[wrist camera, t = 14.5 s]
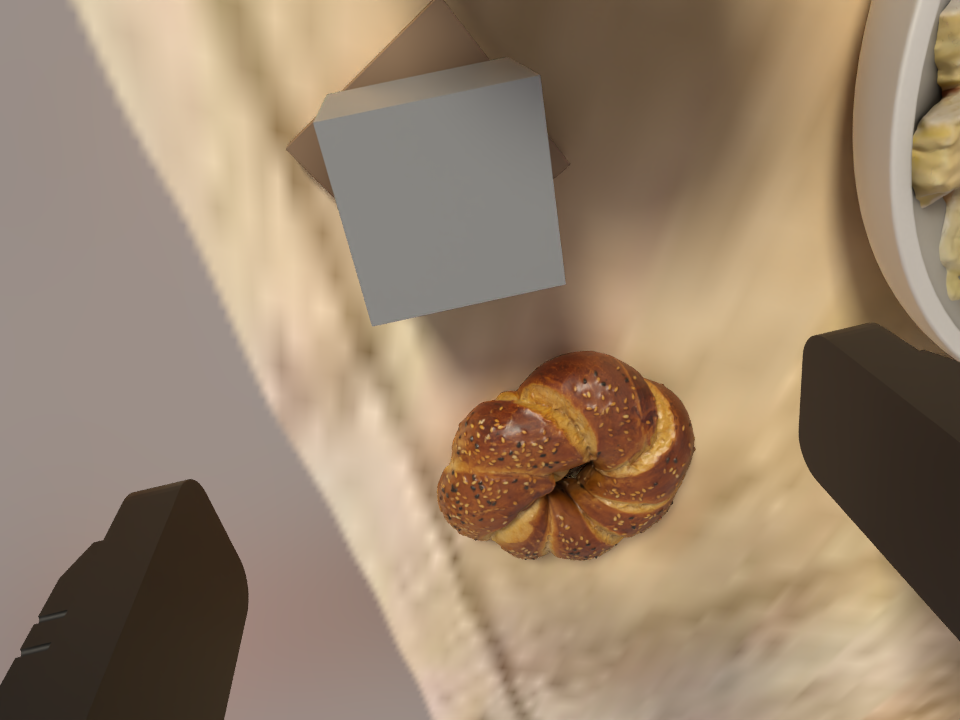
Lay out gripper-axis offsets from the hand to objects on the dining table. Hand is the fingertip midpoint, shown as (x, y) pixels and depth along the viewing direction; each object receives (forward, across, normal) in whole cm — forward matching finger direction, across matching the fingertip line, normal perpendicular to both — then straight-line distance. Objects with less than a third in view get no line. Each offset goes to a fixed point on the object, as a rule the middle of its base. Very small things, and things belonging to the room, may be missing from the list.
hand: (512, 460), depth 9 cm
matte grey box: (+16, 0, 0) cm, 16 cm away
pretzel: (+18, -3, +14) cm, 24 cm away
